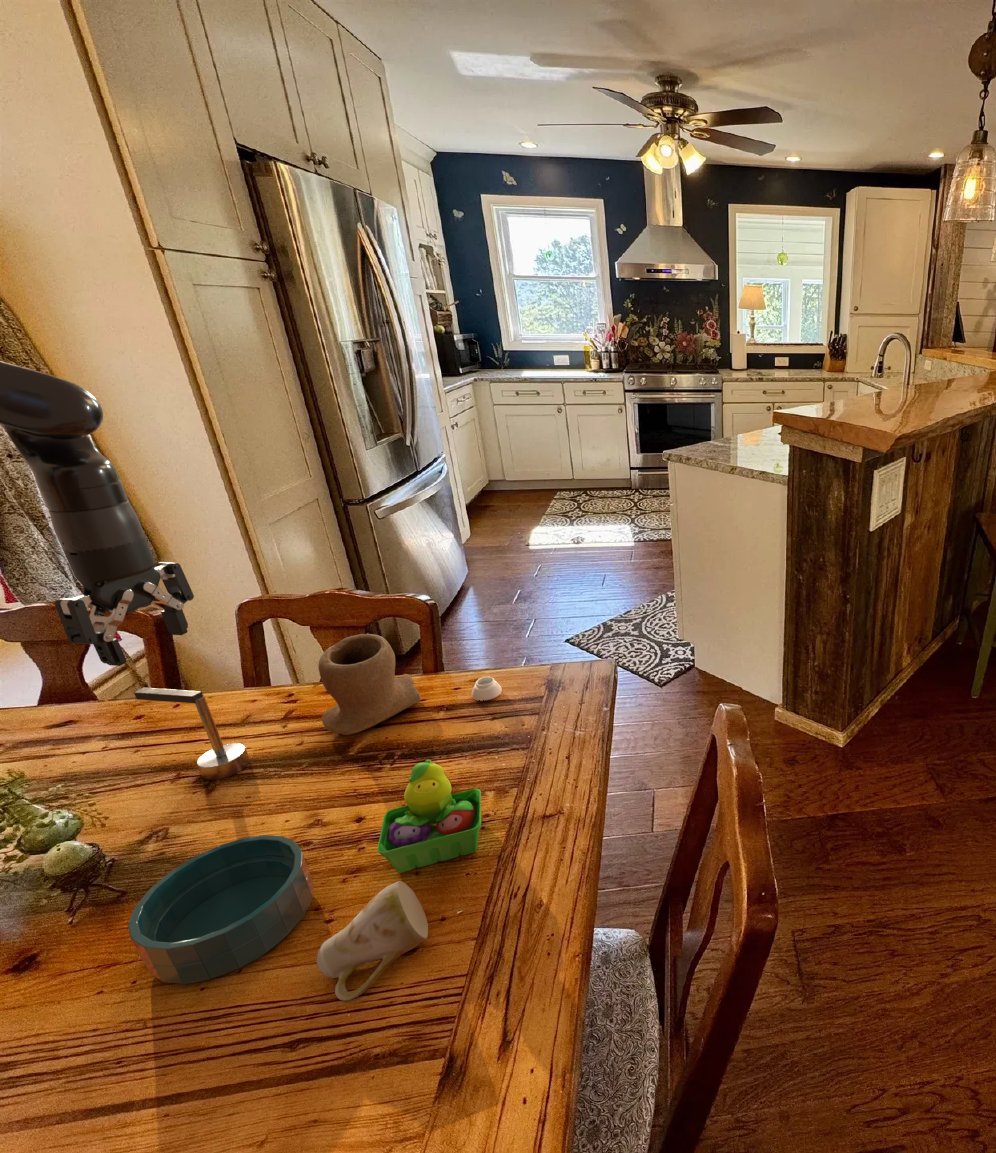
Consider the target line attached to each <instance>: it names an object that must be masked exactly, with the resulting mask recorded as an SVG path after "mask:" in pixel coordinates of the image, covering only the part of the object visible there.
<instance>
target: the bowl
mask: <svg viewBox="0 0 996 1153" xmlns="http://www.w3.org/2000/svg"><path fill="white" fill-rule="evenodd" d="M314 886H315V884H314V882H313V879H312V875H311V873H310V870H309V868H308V864H307V862H306V859H305V855H304V854H303V851H302V849H301V848H300V846H299V844H298V843H297V842H296V841H294V840H292V839H290V838H289V837H286V836H283V835H271V834H261V835H254V836H248V837H242V838H240V839H235V840H233V841H230V842H226V843H223V844H220V845H217V846H215V847H213V848H211V849H209V850H206V851H204V852H202V853H200V854H198V855H196V856H193V857H191V858H189V859H188V860H187V861H185V862H184V863H182V864H180V865H179V866H177V867H176V868H174V869H172V870H171V871H170V872H168V873H167V874H165V875H164V876H163V877H162V878H161V879H159V880H158V881H157V882H156V883H155V884H154V885H153V886H152V887H150V888H149V889H148V890H147V891H146V893H145V894H144V895H143V896H142V898H141V899H140V900H139V901H138V903H137V904H136V905H135V906H134V908H133V911H132V913H131V916H130V918H129V921H128V923H127V928H128V932H129V937H130V940H131V942H132V943H133V945H134V948H135V949H136V951H137V952H138V954H139V956H140V958H141V960H142V962H143V964H144V966H145V967H146V969H147V971H148V973H149V975H151V976H153V977H154V978H156V979H157V980H159V981H160V982H161V983H168V984H177V985H178V984H180V985H186V984H187V985H188V984H192V983H197V982H203V981H209V980H212V979H215V978H218V977H222V976H224V975H228V974H230V973H232V972H235V971H237V970H240V969H241V968H244V967H245V966H247V965H249V964H251V963H253V962H254V961H256V960H257V959H259V958H261V957H262V956H264V955H265V954H266V953H268V952H270V951H271V950H272V949H273V948H274V947H276V946H277V945H279V943H281V942H282V941H283V940H284V939H285V938H286V937H287V936H288V935H289V934H290V933H291V932H292V931H293V930H294V928H296V926H297V925H298V924H299V923H300V921H301V920H302V919H303V918H304V917H305V915H306V913H307V911H308V909H309V907H310V905H311V903H312V902H313V899H314V888H315V887H314Z"/></svg>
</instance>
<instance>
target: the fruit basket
mask: <svg viewBox="0 0 996 1153" xmlns="http://www.w3.org/2000/svg"><path fill="white" fill-rule="evenodd" d="M403 799H404V801H405V803H406V805H403V806H399V807H396V808H391V809H390V810H388V811H387V812H385V813H384V815H383V820H382V823H381V829H380V833H379V834H380V835H379V839H378V843H377V852H378V854H380V856H382V857H383V858H385V859H386V860H387V861H388V862H389V864H390V865H391V866H392V868H394V869H395V870H396V872H397V873H399V874H402V873H403V874H404V873H405V872H410V871H413V870H415V869H416V868H423V867H427V866H431V865H434V864H436V863H438V862H446V861H450V860H452V859H456V858H458V857H460V856H466V855H467V856H468V855H471V854H475V853H476V852H477V851H478V846H479V845H478V844H479V837H480V836H479V835H480V829H481V826H482V791H481V789H478V788H473V789H469V790H464V791H460V792H455V793H452V784H451V782H450V780H449V778H448V777H447V776H446V773H445V771H444V768H443V767H442V766H441V765H439V764H437V763H435V762H432V760H431V759H426V760H425V761H424V762H418V763H417V764H415V765H414V766H413V768H412V769H411V771H410V777H409V778H408V784H407V786H406V787H405V791H404V793H403Z"/></svg>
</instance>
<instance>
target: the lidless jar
mask: <svg viewBox="0 0 996 1153" xmlns="http://www.w3.org/2000/svg"><path fill="white" fill-rule="evenodd" d="M502 691H503V688H502V686H501V685H500V683H498V681H497V680H496V679H495V678H494V677H493V676H483V677H480V678H478V679H477V680H476V681H475V684H474V685H473V688H472V690H471V698H472V699H473V700H474V701H479V700H480V701H479V702H483V700H484V702H485V701H490V700H493V699H495V698H497V697H499V695H501V694H502Z"/></svg>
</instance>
